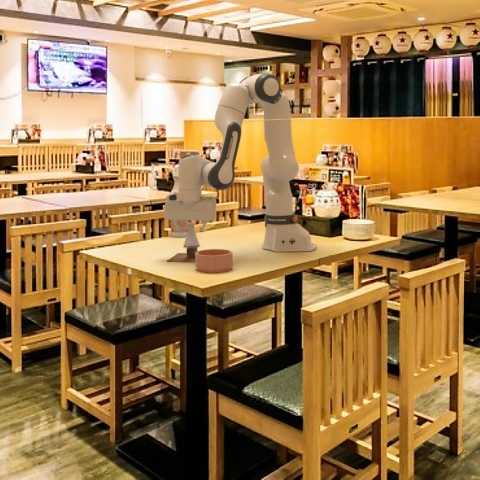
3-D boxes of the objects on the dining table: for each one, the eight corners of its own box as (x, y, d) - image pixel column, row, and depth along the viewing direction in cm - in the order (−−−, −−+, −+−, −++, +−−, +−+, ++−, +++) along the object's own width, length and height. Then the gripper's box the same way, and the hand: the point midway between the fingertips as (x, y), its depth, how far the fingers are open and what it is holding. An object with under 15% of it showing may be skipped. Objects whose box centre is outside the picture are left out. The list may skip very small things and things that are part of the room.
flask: (197, 247, 277) (197, 224, 275) (181, 247, 278) (180, 224, 277) (202, 244, 284) (201, 222, 282) (185, 244, 285) (185, 221, 284)
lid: (216, 256, 262) (216, 243, 261) (207, 264, 246) (207, 251, 246) (178, 255, 265) (177, 243, 264) (166, 263, 249) (166, 250, 249)
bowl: (235, 265, 241) (235, 249, 240) (228, 273, 228) (227, 256, 227) (201, 264, 243) (200, 248, 242) (192, 272, 231) (191, 255, 230)
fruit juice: (167, 235, 309) (165, 176, 304) (184, 233, 314) (182, 175, 309) (177, 238, 301) (175, 177, 296) (194, 236, 306) (193, 176, 301)
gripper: (218, 195, 252) (218, 231, 255) (167, 194, 256) (167, 229, 258) (214, 197, 246) (214, 233, 249) (162, 196, 250) (162, 231, 252)
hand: (190, 231), depth 254 cm, fingers open, 8 cm apart
